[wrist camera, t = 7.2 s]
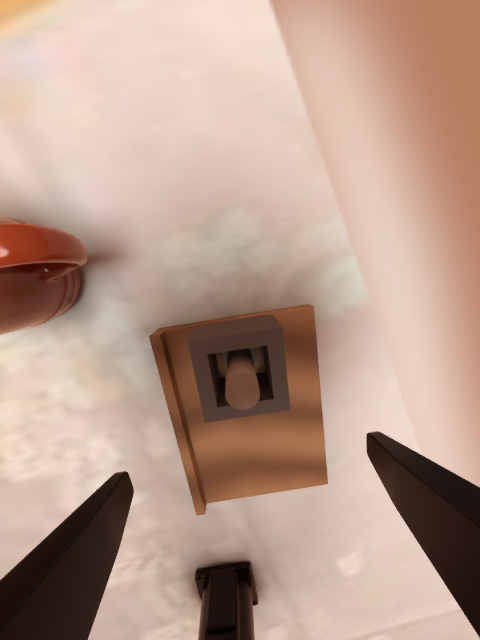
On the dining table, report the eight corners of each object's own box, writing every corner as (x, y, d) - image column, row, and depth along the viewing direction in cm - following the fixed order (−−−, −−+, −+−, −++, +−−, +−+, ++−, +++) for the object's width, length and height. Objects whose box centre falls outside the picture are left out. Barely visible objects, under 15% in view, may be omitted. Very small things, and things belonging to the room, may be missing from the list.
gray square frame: (278, 381, 19) (290, 410, 15) (210, 391, 19) (204, 422, 15) (271, 314, 18) (282, 327, 14) (197, 325, 18) (187, 341, 14)
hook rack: (323, 473, 23) (362, 562, 16) (199, 492, 23) (186, 589, 16) (308, 304, 19) (353, 326, 12) (158, 328, 19) (115, 364, 12)
